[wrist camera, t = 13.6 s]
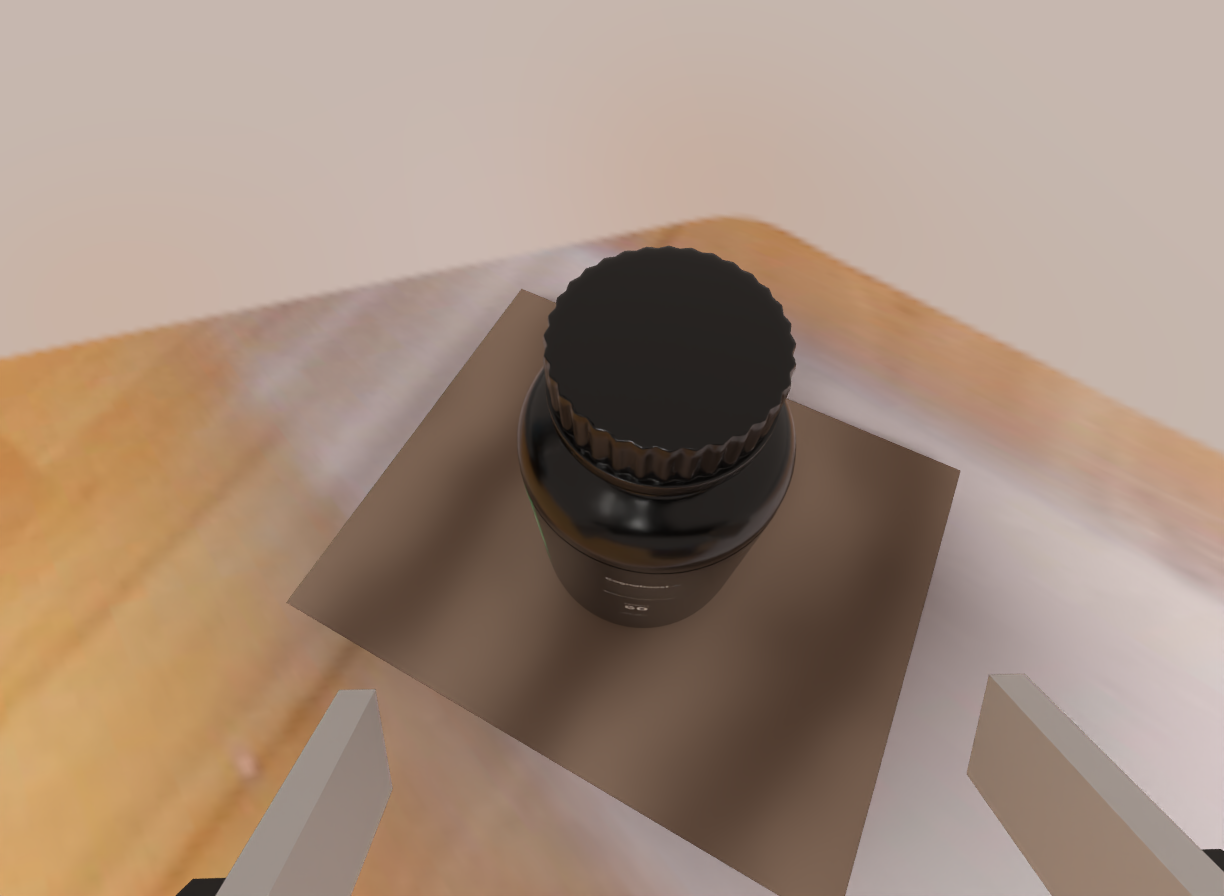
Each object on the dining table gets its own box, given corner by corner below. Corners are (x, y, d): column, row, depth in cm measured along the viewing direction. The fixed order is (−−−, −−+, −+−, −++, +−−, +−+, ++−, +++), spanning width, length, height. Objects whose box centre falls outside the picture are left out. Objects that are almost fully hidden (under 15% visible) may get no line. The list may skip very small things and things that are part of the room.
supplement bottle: (518, 593, 21) (420, 437, 10) (586, 432, 24) (565, 176, 13) (705, 660, 20) (818, 567, 9) (752, 483, 23) (879, 254, 12)
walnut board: (312, 613, 22) (286, 602, 21) (527, 317, 29) (521, 289, 27) (813, 910, 18) (835, 929, 17) (935, 490, 25) (960, 470, 23)
